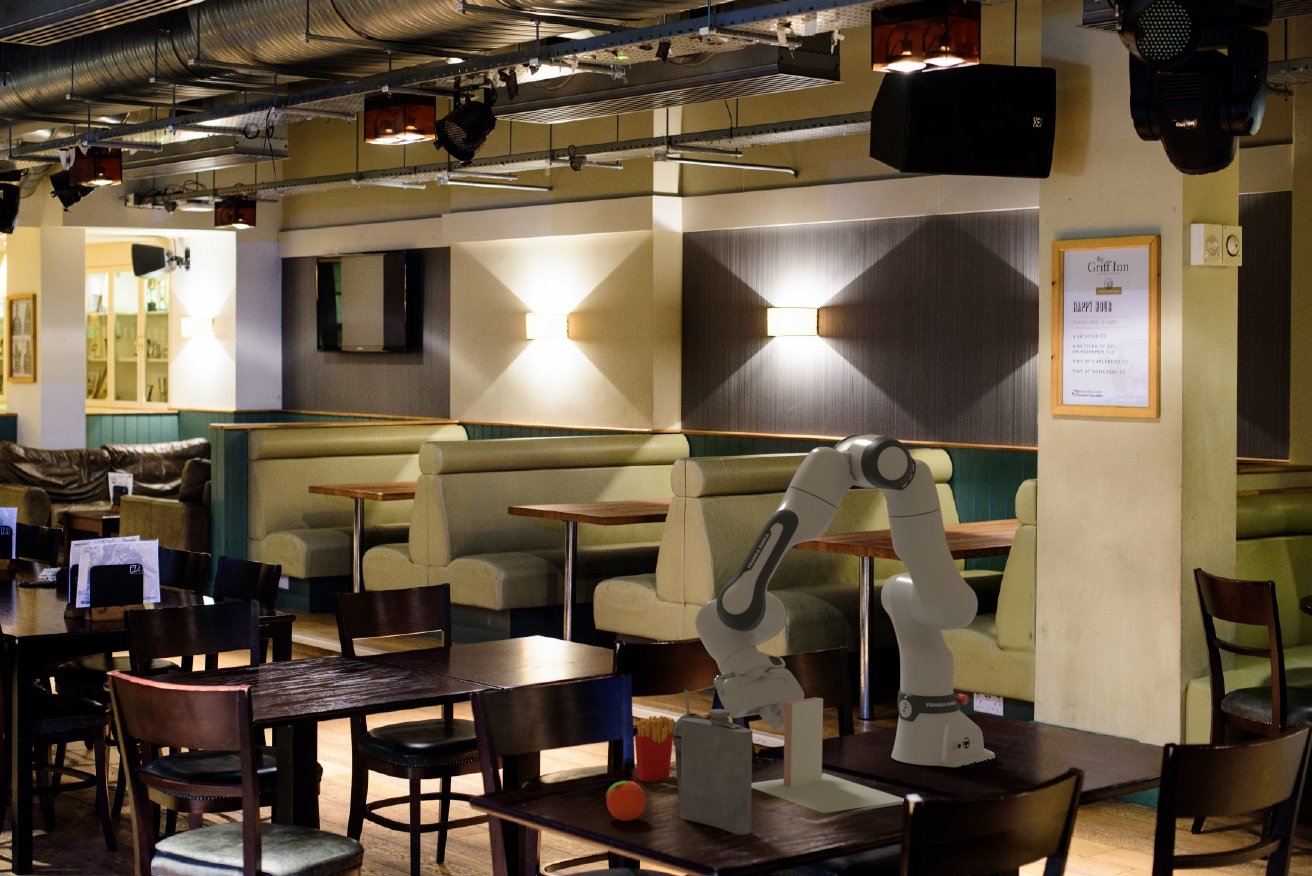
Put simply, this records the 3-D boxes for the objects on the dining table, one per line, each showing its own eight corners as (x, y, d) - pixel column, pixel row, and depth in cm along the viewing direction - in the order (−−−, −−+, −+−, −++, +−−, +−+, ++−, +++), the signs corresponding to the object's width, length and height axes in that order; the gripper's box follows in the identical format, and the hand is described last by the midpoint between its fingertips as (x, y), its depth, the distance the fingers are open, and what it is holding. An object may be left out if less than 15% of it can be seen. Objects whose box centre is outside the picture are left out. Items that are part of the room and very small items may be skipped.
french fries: (642, 782, 298) (643, 721, 298) (631, 778, 302) (632, 717, 302) (677, 777, 303) (678, 716, 303) (665, 773, 307) (666, 713, 306)
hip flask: (676, 817, 272) (678, 704, 272) (693, 813, 275) (694, 702, 275) (741, 835, 261) (743, 718, 261) (758, 831, 264) (760, 715, 264)
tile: (783, 785, 296) (784, 702, 295) (813, 778, 302) (815, 697, 302) (791, 787, 294) (792, 703, 294) (821, 780, 300) (823, 698, 300)
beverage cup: (706, 802, 284) (708, 694, 283) (667, 799, 285) (669, 692, 285) (712, 793, 291) (714, 687, 291) (675, 790, 292) (676, 686, 292)
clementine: (616, 828, 264) (616, 787, 264) (593, 819, 270) (594, 779, 270) (653, 821, 269) (654, 781, 269) (630, 813, 275) (631, 773, 275)
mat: (824, 776, 307) (824, 773, 307) (908, 803, 285) (908, 799, 285) (742, 787, 296) (742, 784, 296) (823, 816, 275) (823, 812, 275)
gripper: (718, 666, 300) (754, 724, 293) (787, 657, 314) (823, 711, 307) (701, 686, 303) (737, 743, 296) (771, 676, 317) (806, 730, 311)
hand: (781, 727), depth 302 cm, fingers closed
